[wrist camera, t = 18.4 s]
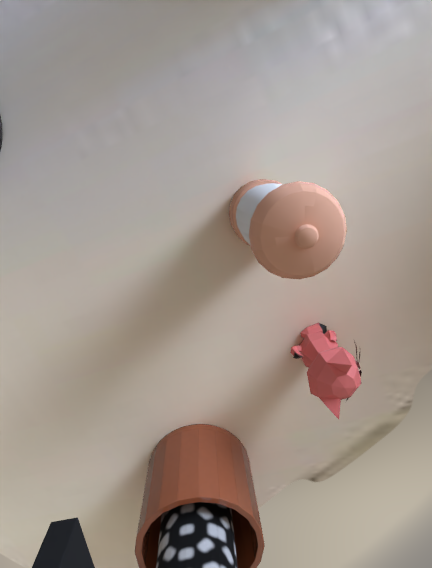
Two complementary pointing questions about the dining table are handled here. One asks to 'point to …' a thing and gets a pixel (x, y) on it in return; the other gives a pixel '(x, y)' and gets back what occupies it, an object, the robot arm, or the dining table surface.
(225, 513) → the white-spotted black cylinder
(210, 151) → the dining table surface
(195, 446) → the terracotta coffee mug
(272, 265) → the pepper shaker
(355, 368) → the cat figurine
